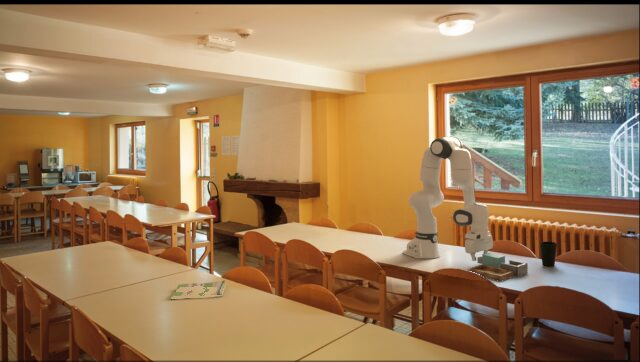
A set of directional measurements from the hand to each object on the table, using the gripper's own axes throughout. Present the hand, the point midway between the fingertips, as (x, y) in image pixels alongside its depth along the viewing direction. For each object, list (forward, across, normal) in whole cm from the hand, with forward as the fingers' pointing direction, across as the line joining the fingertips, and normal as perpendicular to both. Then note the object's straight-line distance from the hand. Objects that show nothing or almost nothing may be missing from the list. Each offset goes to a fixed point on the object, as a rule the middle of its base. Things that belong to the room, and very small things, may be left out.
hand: (479, 259), depth 226 cm
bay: (+3, 0, +19) cm, 19 cm away
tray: (+3, +11, +14) cm, 18 cm away
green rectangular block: (+3, 0, +7) cm, 7 cm away
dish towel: (+5, +132, -58) cm, 144 cm away
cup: (+3, -25, +24) cm, 35 cm away
